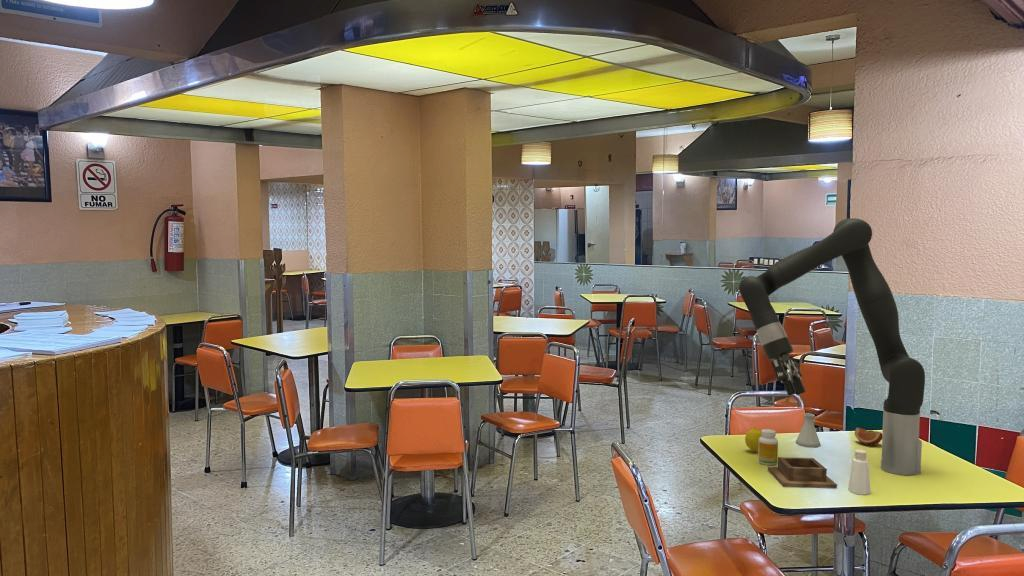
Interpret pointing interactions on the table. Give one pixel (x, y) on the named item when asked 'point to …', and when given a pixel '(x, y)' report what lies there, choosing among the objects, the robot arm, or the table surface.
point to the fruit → (753, 439)
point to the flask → (808, 432)
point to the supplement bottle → (768, 448)
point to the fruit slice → (868, 436)
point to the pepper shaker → (860, 474)
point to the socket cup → (801, 473)
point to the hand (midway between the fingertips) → (797, 393)
